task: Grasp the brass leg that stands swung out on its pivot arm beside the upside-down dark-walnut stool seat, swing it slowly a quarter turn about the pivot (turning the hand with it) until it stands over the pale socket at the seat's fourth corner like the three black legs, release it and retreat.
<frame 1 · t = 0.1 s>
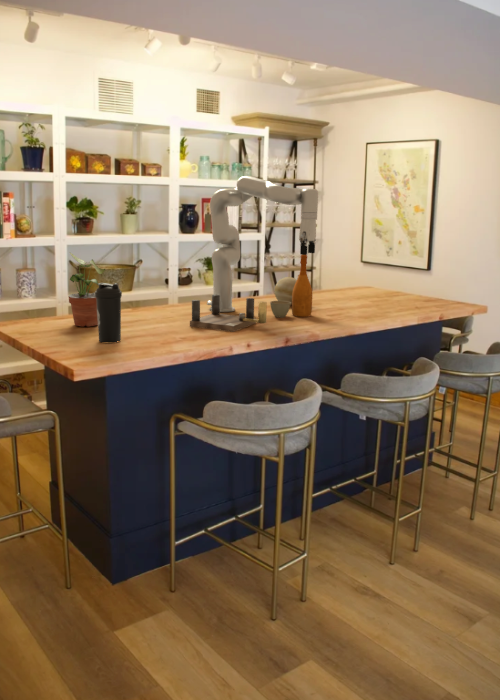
hand: (307, 253, 305), 31 cm above the table, fingers open, 9 cm apart
potted plant: (88, 325, 289), on the table
decorative ball: (287, 305, 351), on the table
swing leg: (252, 311, 289), point 7 cm above the table, hinge at 90.0°
water bottle: (109, 341, 261), on the table
stool seat: (223, 324, 296), on the table
flower pot: (280, 317, 318), on the table
wine bottle: (301, 316, 321), on the table
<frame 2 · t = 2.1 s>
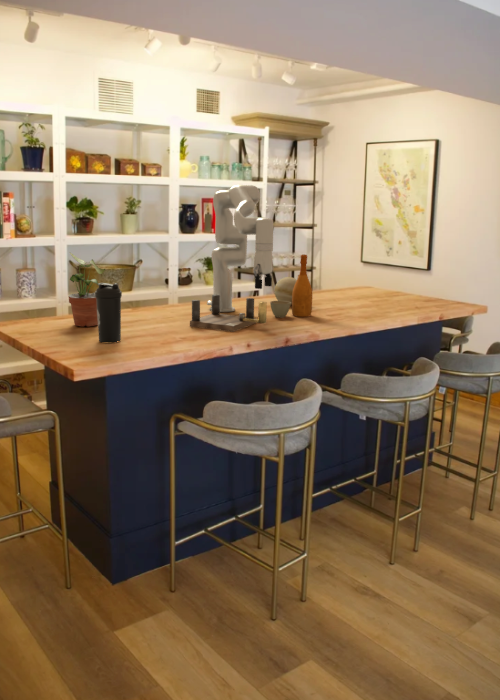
hand: (263, 287, 284), 19 cm above the table, fingers open, 9 cm apart
nothing on the table moved.
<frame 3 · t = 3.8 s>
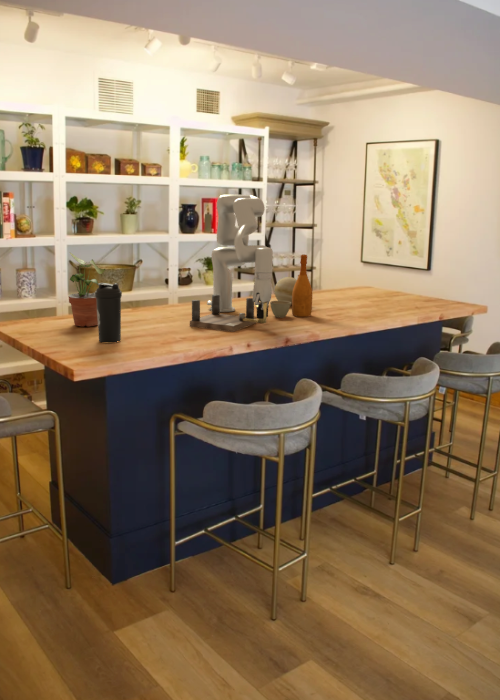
hand: (262, 317, 287), 5 cm above the table, fingers closed on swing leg, 3 cm apart
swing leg: (252, 311, 289), point 7 cm above the table, hinge at 90.0°, touching gripper
everything else where it was.
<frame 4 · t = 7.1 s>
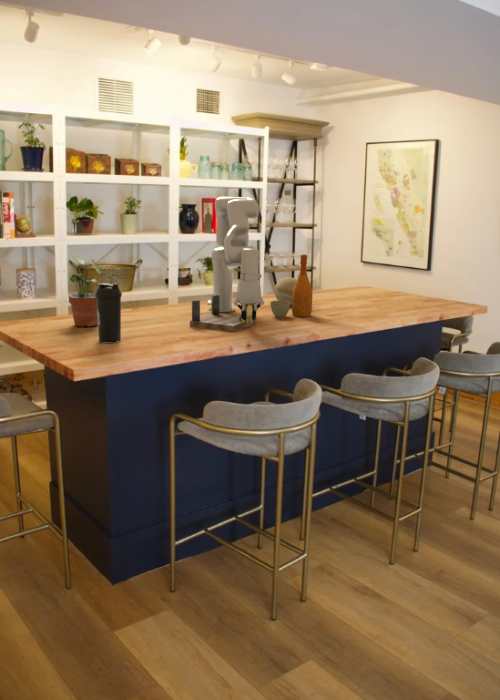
hand: (248, 319, 282), 5 cm above the table, fingers closed on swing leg, 3 cm apart
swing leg: (245, 312, 286), point 7 cm above the table, hinge at 43.6°, touching gripper
everything else where it was.
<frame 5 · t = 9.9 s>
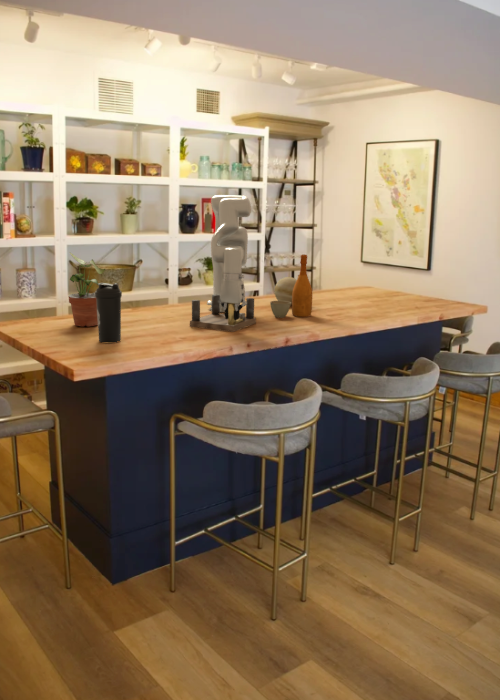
hand: (232, 318, 283), 5 cm above the table, fingers closed on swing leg, 3 cm apart
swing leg: (236, 312, 287), point 7 cm above the table, hinge at 1.3°, touching gripper
everything else where it was.
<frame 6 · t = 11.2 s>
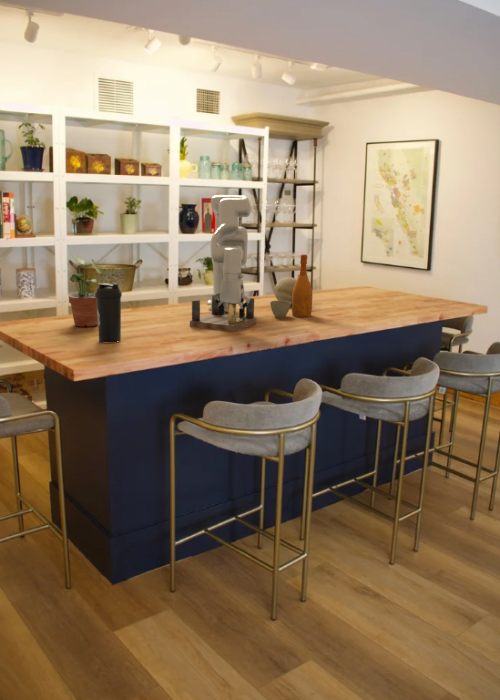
hand: (231, 316, 283), 6 cm above the table, fingers open, 9 cm apart
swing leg: (236, 312, 287), point 7 cm above the table, hinge at 1.2°
everything else where it was.
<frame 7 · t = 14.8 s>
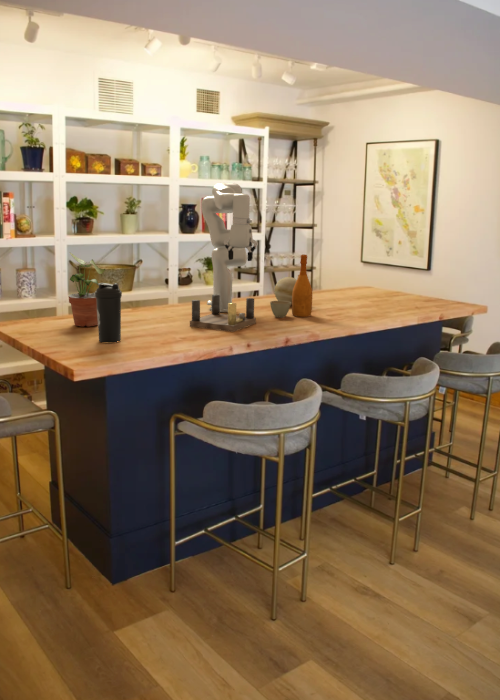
hand: (240, 260, 299), 28 cm above the table, fingers open, 9 cm apart
nothing on the table moved.
at the end: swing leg at +1° (first picture: +90°); the gripper is holding nothing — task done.
